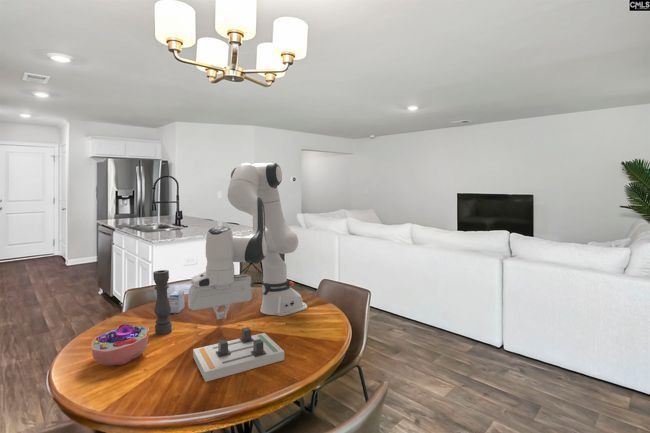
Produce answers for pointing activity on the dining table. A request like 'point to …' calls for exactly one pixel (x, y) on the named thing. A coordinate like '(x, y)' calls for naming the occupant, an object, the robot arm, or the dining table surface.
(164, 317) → the candle holder
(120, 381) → the dining table surface
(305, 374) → the dining table surface
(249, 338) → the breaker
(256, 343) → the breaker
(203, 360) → the panel
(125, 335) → the cell model
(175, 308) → the medicine box
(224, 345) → the breaker
